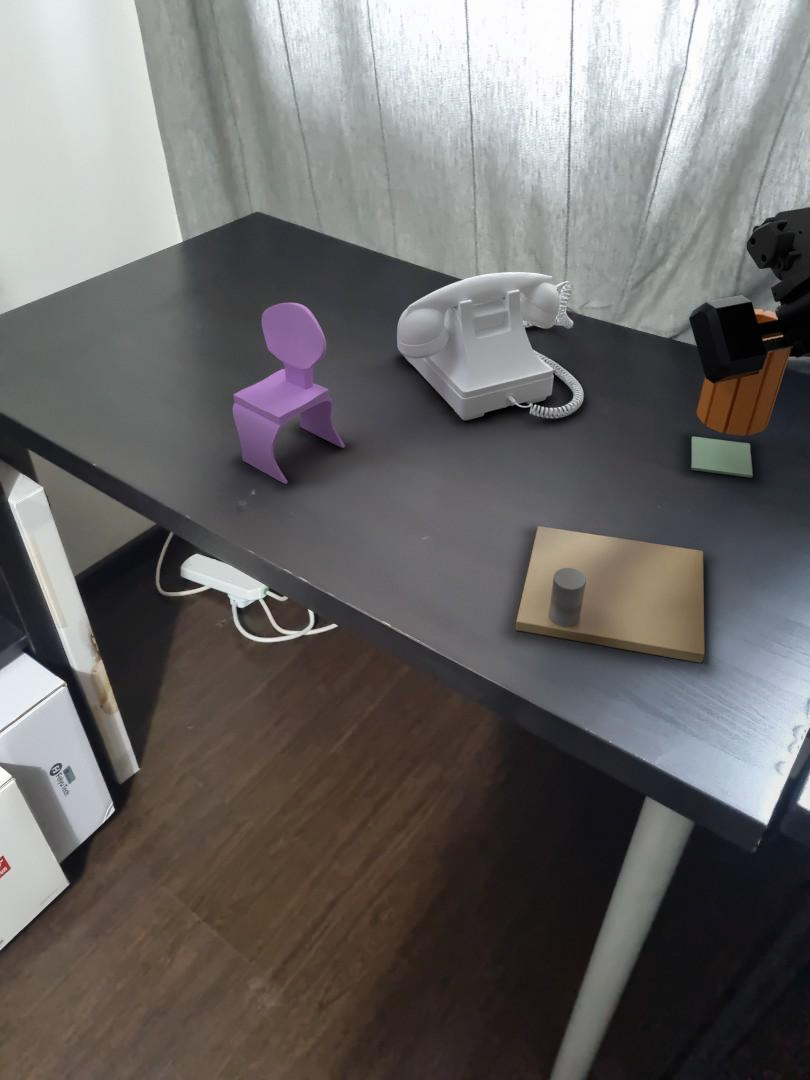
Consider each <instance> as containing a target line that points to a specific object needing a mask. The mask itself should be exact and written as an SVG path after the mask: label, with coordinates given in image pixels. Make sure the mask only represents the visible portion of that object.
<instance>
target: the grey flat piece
mask: <svg viewBox="0 0 810 1080" xmlns="http://www.w3.org/2000/svg"><path fill="white" fill-rule="evenodd" d="M690 458H691V462H690V463H691V467H690V468H691V470H692V471H697V472H698V471H699V472H706V473H712V474H721V475H727V476H735V477H743V478H750V479H752V478H753V476H754V474H753V463H752V453H751V443H748V442H740V441H732V440H725V439H724V440H723V439H716V438H708V437H699V436H691V457H690Z"/></svg>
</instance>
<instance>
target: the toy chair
mask: <svg viewBox="0 0 810 1080" xmlns="http://www.w3.org/2000/svg"><path fill="white" fill-rule="evenodd" d="M261 327H262V332H263V336H264V340H265V341H264V342H265V344H266V347H267V350H268V351H269V352H270V353H271V354H272V355H273V356H275V357H276V358H277V359H278V360H280V361H281V362H282V363H283V366H284V368H281V369H280V370H278V371H275V372H274V373H272V374H270V375H268V376H267V377H266V378H263V379H262V380H260V381H258V382H256V383H254V384H252V385H250V386H248V387H245V388H243V389H241V390H239V391H237V392H235V393H233V394H232V397H233V401H234V403H233V405H232V417H233V420H234V423H235V427H236V430H237V433H238V434H237V435H238V437H239V442H240V447H241V459H242V461H243V462H245V463H247V464H248V465H250V466H251V467H254V468H255V469H257V470H259V471H261V472H263V473H264V474H265V475H268V476H269V477H272V478H274V479H275V480H277V481H279V482H281V483H282V484H285V485H286V484H288V483H289V482H288V480H287V478H286V477H285V475H284V474H283V472H282V470H281V469H280V466H279V465H278V463H277V461H276V457H275V452H274V450H275V445H276V442H277V440H278V437H279V434H280V432H281V430H282V428H283V427H284V426H285V425H286V424H287V423H289V422H290V421H291V420H293V419H295V418H296V417H297V416H299V415H300V416H299V417H300V418H299V420H300V422H299V423H300V424H299V426H300V428H302V429H303V430H306V431H307V432H309V433H312V434H313V435H315V436H317V437H319V438H321V439H323V440H326V441H327V442H329V443H331V444H333V445H336V446H337V447H339V448H342V449H344V448H345V447H346V445H345V443H344V441H343V440H342V439H341V436H340V435H339V433H338V431H337V429H336V426H335V424H334V421H333V416H332V415H333V413H332V412H333V403H334V401H333V399H332V398H331V397H330V390H329V389H328V388H326V387H325V386H321V385H320V384H317V383H314V366H315V365H317V364H318V363H320V362H321V361H322V360H323V359H324V357H325V356H326V354H327V341H326V337H325V334H324V332H323V330H322V327H321V325H320V324H319V322H318V320H317V318H316V317H315V315H314V314H313V312H312V311H311V310H310V309H309V308H308V307H307V306H305V305H303V304H301V303H298V302H282V303H277V304H274V305H271V306H269V307H267V308H266V309H265V310H264V311H263V313H262V314H261Z"/></svg>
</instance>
